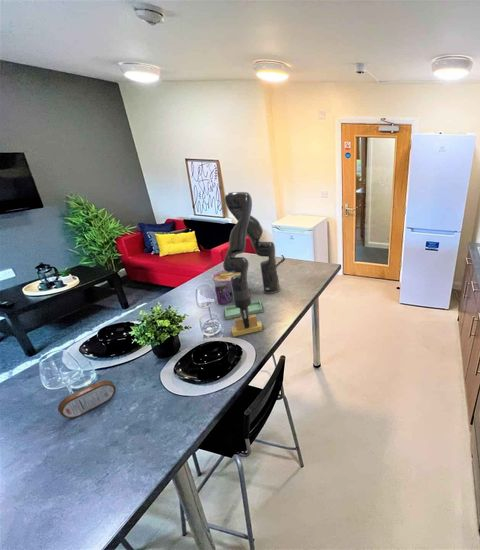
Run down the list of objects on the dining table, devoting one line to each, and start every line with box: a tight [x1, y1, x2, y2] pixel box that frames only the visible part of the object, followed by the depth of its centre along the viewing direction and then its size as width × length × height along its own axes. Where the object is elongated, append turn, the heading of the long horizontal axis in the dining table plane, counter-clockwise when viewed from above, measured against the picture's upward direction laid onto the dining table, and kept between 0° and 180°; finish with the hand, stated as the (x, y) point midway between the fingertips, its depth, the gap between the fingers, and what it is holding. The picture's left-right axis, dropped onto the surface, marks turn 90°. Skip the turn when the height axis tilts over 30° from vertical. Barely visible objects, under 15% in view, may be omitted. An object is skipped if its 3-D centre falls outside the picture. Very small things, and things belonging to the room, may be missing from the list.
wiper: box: [231, 313, 264, 337], centre depth 146 cm, size 5×14×8 cm, turn 116°
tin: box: [57, 379, 117, 419], centre depth 102 cm, size 15×3×8 cm, turn 145°
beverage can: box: [214, 282, 231, 305], centre depth 171 cm, size 7×7×12 cm
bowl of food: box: [211, 268, 240, 294], centre depth 185 cm, size 20×20×12 cm
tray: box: [224, 300, 264, 320], centre depth 164 cm, size 10×19×2 cm, turn 116°
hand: (246, 325), depth 146 cm, fingers closed on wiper, 2 cm apart
